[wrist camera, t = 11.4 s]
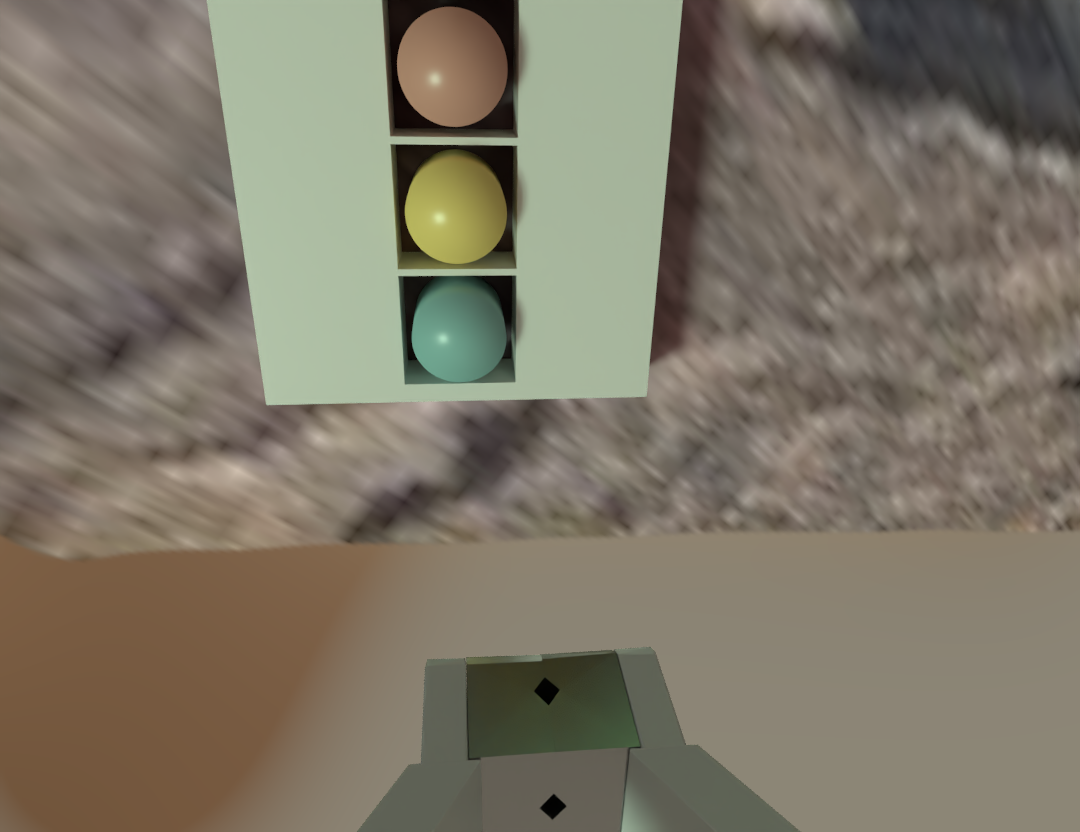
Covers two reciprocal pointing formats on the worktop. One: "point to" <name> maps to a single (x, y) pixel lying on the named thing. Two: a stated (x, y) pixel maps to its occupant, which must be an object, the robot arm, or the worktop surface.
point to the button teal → (458, 328)
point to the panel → (373, 199)
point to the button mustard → (455, 207)
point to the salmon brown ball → (452, 66)
